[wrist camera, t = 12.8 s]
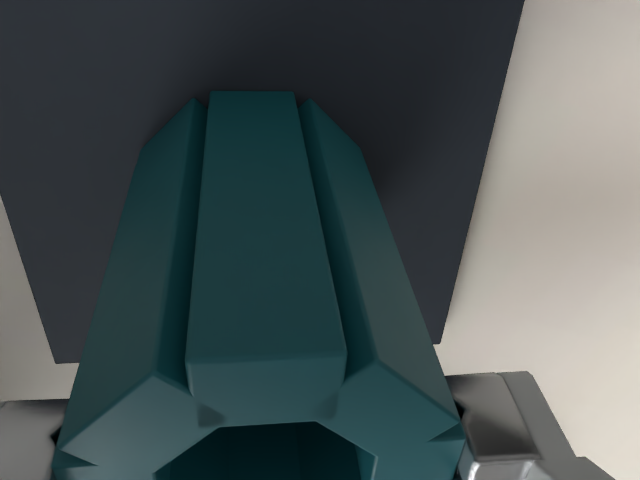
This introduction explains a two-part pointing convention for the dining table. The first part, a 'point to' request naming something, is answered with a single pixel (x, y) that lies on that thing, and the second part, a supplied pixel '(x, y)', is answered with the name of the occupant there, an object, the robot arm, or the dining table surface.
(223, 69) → the mat
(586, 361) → the dining table surface
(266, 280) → the teal octagonal tube
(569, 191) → the dining table surface
